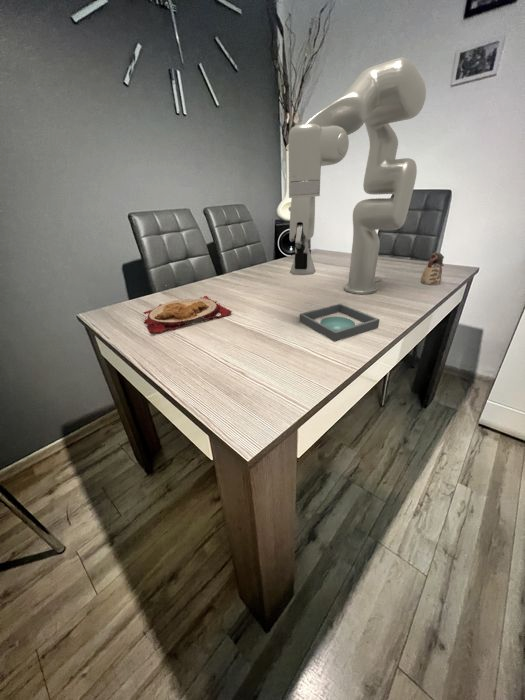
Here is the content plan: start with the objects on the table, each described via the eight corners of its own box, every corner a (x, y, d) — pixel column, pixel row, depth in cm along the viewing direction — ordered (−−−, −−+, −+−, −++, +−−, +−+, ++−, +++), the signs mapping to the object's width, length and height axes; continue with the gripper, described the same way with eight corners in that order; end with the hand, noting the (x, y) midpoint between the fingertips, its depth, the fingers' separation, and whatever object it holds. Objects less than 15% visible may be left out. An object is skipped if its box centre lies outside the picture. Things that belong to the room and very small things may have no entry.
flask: (289, 270, 80) (289, 233, 75) (314, 269, 79) (315, 232, 74) (290, 276, 73) (289, 237, 68) (317, 275, 73) (319, 235, 68)
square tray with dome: (339, 310, 90) (340, 303, 89) (378, 327, 78) (379, 319, 76) (299, 321, 84) (299, 313, 82) (334, 341, 71) (335, 333, 70)
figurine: (444, 284, 110) (453, 253, 104) (429, 286, 108) (437, 254, 103) (431, 279, 116) (438, 250, 110) (416, 281, 115) (423, 251, 109)
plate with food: (233, 317, 91) (232, 307, 90) (151, 336, 80) (149, 325, 78) (207, 299, 110) (205, 291, 109) (137, 313, 98) (135, 303, 97)
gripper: (296, 190, 74) (296, 259, 83) (280, 191, 60) (281, 274, 70) (324, 189, 72) (320, 259, 81) (314, 189, 58) (311, 275, 67)
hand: (302, 265), depth 75 cm, fingers closed on flask, 4 cm apart
